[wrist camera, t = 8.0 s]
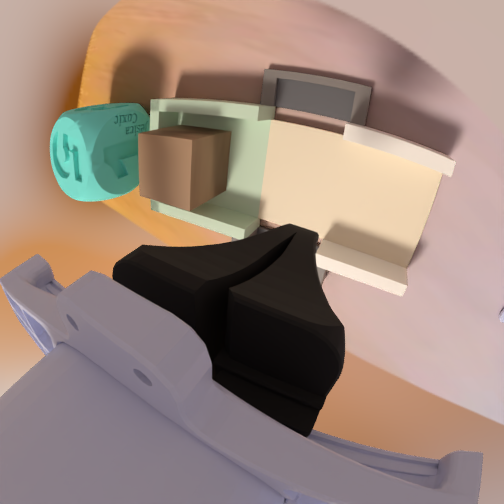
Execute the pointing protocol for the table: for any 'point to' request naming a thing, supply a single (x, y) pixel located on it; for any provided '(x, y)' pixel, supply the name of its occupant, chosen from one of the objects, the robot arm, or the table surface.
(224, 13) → the table surface
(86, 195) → the decorative dice
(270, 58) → the table surface
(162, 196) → the walnut cube
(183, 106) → the tray
